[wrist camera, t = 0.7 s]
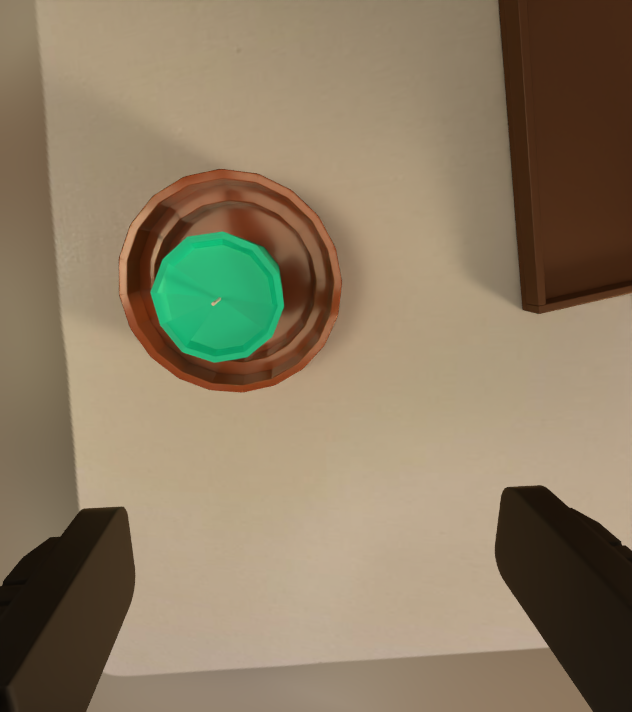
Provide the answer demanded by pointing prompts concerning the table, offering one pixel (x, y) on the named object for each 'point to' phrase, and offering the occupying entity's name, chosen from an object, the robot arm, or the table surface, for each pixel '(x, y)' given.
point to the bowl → (258, 225)
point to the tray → (570, 147)
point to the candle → (218, 296)
